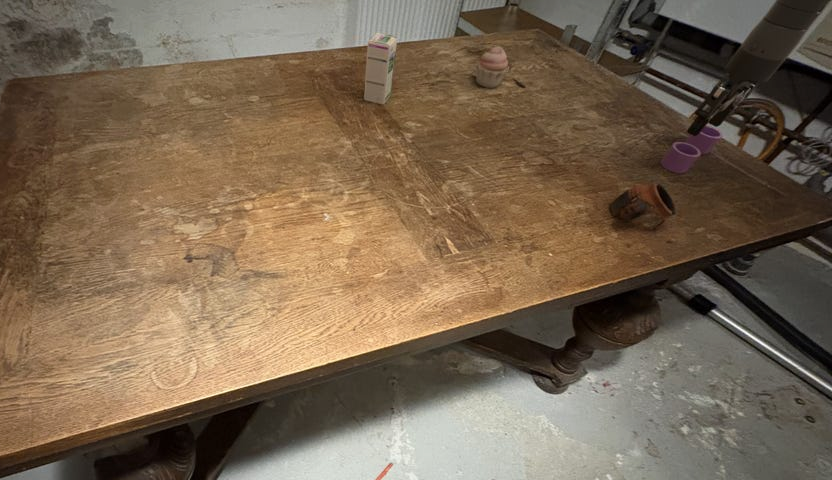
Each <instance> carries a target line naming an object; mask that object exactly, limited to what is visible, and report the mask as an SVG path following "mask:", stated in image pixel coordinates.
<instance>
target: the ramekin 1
mask: <svg viewBox="0 0 832 480" xmlns="http://www.w3.org/2000/svg"><path fill="white" fill-rule="evenodd" d="M684 142H685V141H675V142H673V143H672V144H671V145H670V146H669V148H668V150H667V151H666V152H665V154H663V157H662V158H661V159H660V161H659V163H660V166H662V168H664V169H666V170H667V171H669V172H672V173H675V174H685V173H687V172H688V171H689V170H690V168H691V167H692V166H693V164H694V163H695V162H696V161H697V160H698V158H699V157H701V155H702V154H701V152H700V150H699V149H697V148H696V147H695V146H693V145H691V144H688V143H684Z"/></svg>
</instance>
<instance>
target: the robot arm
mask: <svg viewBox="0 0 832 480" xmlns="http://www.w3.org/2000/svg"><path fill="white" fill-rule="evenodd" d="M831 3H832V0H774V2H773V3H772V5H771V6H770V8H769V9H768V10H767V12H766V13H765V15H764V16H763V17H762V18H761V20H760V21H759V22H758V23H757V24H755V26H754V27H753V29H752V30H751V31H750V32H749V34H748V35H747V36H746V37H745V39H744V40H743V42H742V43H741V45H740V46H739V47H738V49H737V50H736V52H735V53H734V54H733V55H732V57H731V59H730V60H729V61H728V62H727V63H726V65H725V66H724V71H725V72H726V74H728V76H729V78H728V79H727V80H726V81H724V82H722V83H721V84H716V85H714V86H713V88H712V89H711V91H710V92H709V93H708V95H707V96H706V97H705V98H704V100H703V102H701V104H700V105H699V107H698V108H697V109H696V110H695V111H694V115H695V116H696V117H695V119H694V120H693V122H692V123H691V125H690V126H689V127H688V128H687V130H686V133H687V134H688V135H690V134H691V135H693V136H697V135H699V134H700V132H701V131H702V130H703V128H704V127H705V126H706V125H707V126H708V124H709V125H711V126H712V127H714V128H717V127H720V126H721V125H722V124H723V123H724V122H725V120H726V119H727V118H728V116H729V115H730V114H731V113H732V111H735V110H736V109H737V108H738V106H739V107H740V106H742V105H743V104H744V103H745V102H746V101H747V99H748V98H749V97H750V95H751V94H752V92H753V91H754V90H755V89H756V87H758V85H759V84H764V83H766V82H768V81H769V80H770V79H771V78H772V77H773V75H774V74H775V73H776V72H777V70H778V69H779V68H780V67H781V66H782V65H783V64H784V62H785V61H786V60H787V59H788V57H789V56H790V55H791V54H792V53H793V51H794V50H795V49H796V48H797V46H798V45H799V44H800V42H801V41H802V40H803V38H804V37H805V36H806V34H807V33H808V31H809V30H810V28H811V27H812V26H813V25H814V24H815V22H816V21H817V20H818V19H819V18H820V17H821V15H822V14H823V13H824V12H825V10H826V9H827V8H828V6H829V5H830V4H831ZM708 109H709V110H708ZM707 110H708V111H707Z"/></svg>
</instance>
